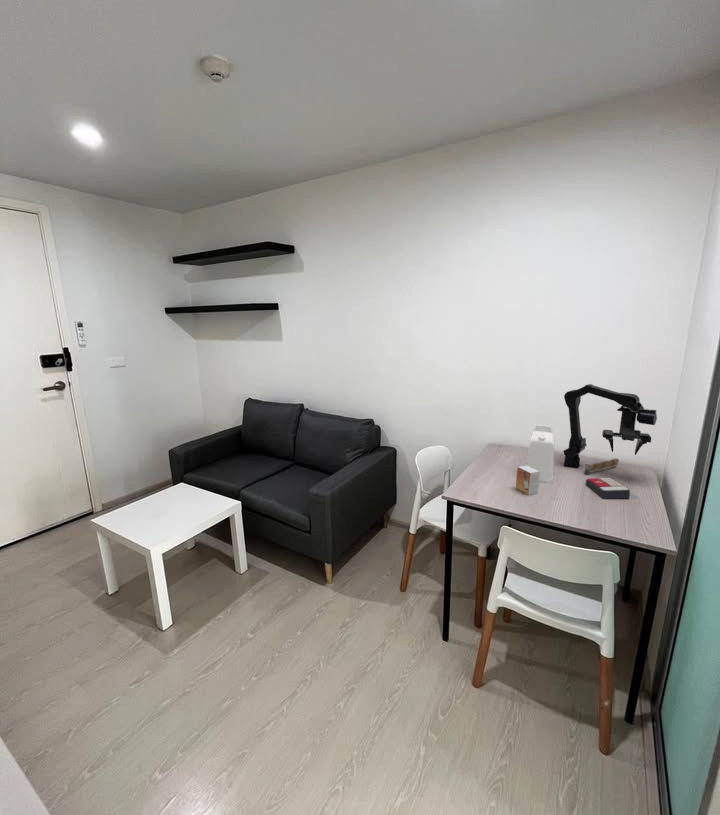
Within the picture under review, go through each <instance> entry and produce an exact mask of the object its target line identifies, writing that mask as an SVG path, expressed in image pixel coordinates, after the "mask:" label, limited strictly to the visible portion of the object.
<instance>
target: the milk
mask: <svg viewBox="0 0 720 815" xmlns="http://www.w3.org/2000/svg"><path fill="white" fill-rule="evenodd" d="M555 440H556V439H555V434H554V431H553V429H552V426H551V425H544V424H543V425H542V424H536V426H535V428H534V429H533V432H532V434H531V437H530V441H529V446H528V450H527V451H528V452H527V459H526V460H527V461H526V466H529V467H531V468H533V469H535V470H538V471H540V477H539V482H544V483H550V484H551V483H552V484H553V476H554V463H555V444H556V443H555V442H556V441H555Z"/></svg>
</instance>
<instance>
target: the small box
mask: <svg viewBox="0 0 720 815" xmlns="http://www.w3.org/2000/svg"><path fill="white" fill-rule="evenodd" d="M516 472H517V473H516V480H515V482H516V483H515V489H516V490H518V491H519V492H521V493H523V494H526V495H527V496H530V495H535V494H536V495H537V494H538V493H539V486H540V481H539V477H540V471H538V470H535V469H533V468H531V467H529V466H527V465H522V466H518V467H517V471H516Z"/></svg>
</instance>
